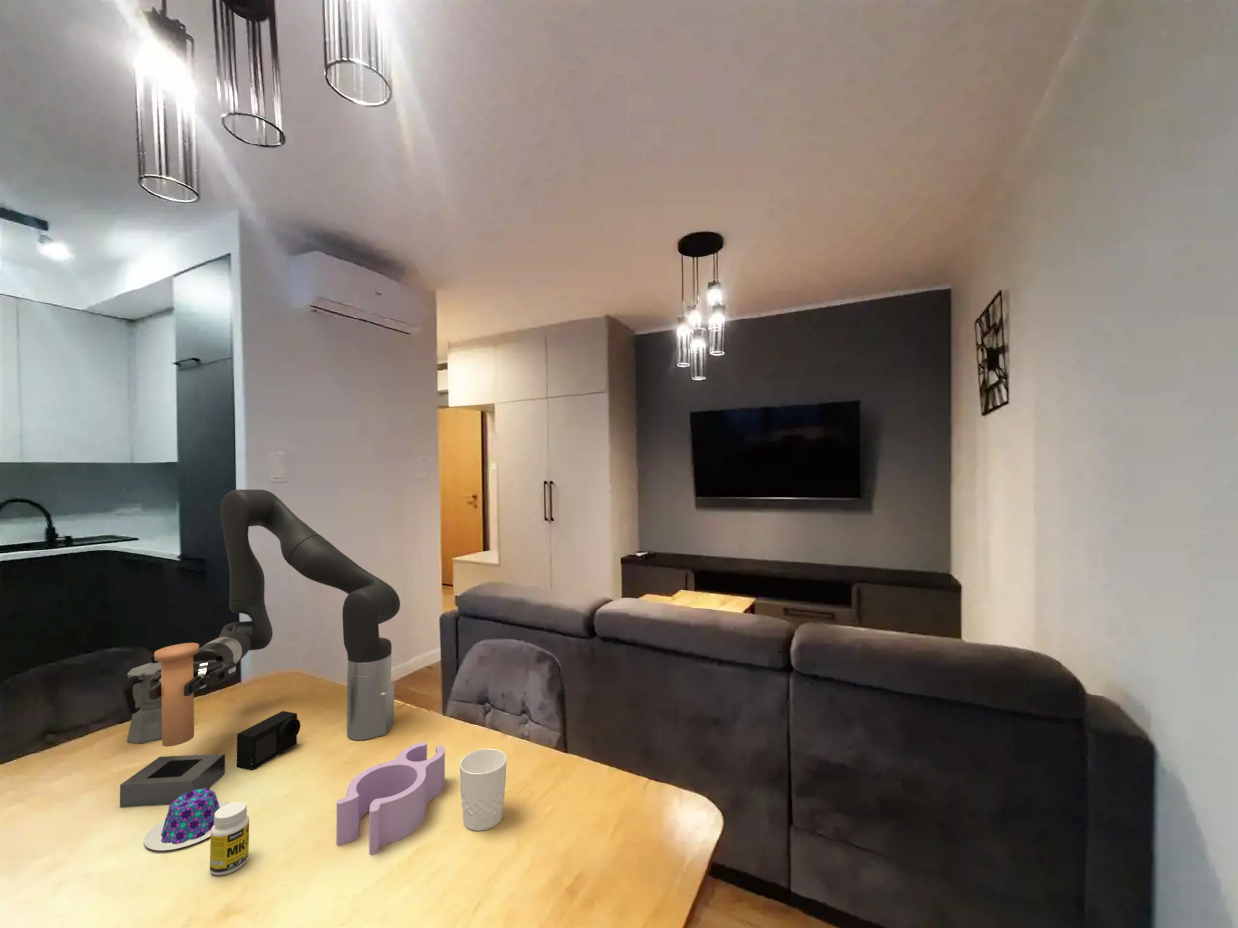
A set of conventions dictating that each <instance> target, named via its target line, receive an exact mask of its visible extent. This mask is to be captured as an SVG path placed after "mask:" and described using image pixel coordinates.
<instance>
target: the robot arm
mask: <svg viewBox="0 0 1238 928" xmlns="http://www.w3.org/2000/svg"><path fill="white" fill-rule="evenodd" d="M220 519H221V521H220V522H221V527H222V533H223V539H224V544H225V549H226V555H227V562H228V568H229V603H228V604H229V609H230V610H229V611H231V612H232V613H236V614H243V615H246V616H248V617H249V618H250V619H251V620H246V621H236V622H235V621H233V622H231V623H227V624H226V625H225V626H223V628H222V629H221V630H220V631H221V632H220V634H219V636H218V637H217V638H215V639H213V640H211V641H209V642H207V643H205V644H204V645H202V646H200V647H199V652H198V653H197V654H195V655H193V679H192V680H190V681H189V682H188V683H186V684H185V685H184V696H190V695H191V694H192V693H196V692H197V691H199V690H200V689H204V688H206V686H207V685H209V686H210V687H215V686H217V685H219V684H222V682H225V681H227V680H229V679H230V678H233V677H234V676H236V673H237V672H236V671H237V669H236V668H237V663H238V662H240V660H242V658H244V657H245V656H246V655H247V654H248V652H249V651H258V650H263V649H265V648H266V647H267V646H269V644H270V643H271V641H272V639H273V634H274V633H273V627H272V623H271V620H270V617H269V615H268V610H267V607H266V603H265V585H266V583H265V581H266V580H265V574H264V570H263V567H262V565H261V563H260V562H259V561H258V559H257V557H256V555H255V554H254V551H253V550H252V547H251V545H250V540H249V527H263V528H264V529H266V530H268V532H270V533H272V534H273V535H274V536H275V537H276V538H277V539H278V540H279V544H280V550H281V554H282V557H283V559H284V560H285V562H286V563H287V564H288V565H289V566H290V567H291V568H293V569H294V570H296V571H297V572H298V573H299V574H300V575H302V577H305V578H307V579H308V580H309V581H310V580H311V581H313V582H315V583H319V584H321V585H325V586H327V587H331V588H335V589H338V590H340V591H342V592H344V593H346V594H347V596H346V597H345V599H344V602H343V605H342V613H341V614H342V616H341V617H342V633H343V634H342V636H343V644H344V647H345V650H346V653H347V654H346V655H347V666H346V667H347V668H346V669H347V672H346V673H347V675H346V677H347V679H346V684H347V685H346V735H347V737H348V738H349V739H351V740H355V741H364V740H370V739H374V738H377V737H381V736H386V735H387V733H388V732H389V731H390V729H391V728H392V726H393V725H394V723H395V683H394V682H392V649H393V648H392V642H391V640H390V639H388V638H386V637H380V630H379V629H380V628H379V625H380V624H383V623H385V622H387V621H390V620H392V618H394V617H396V615H397V614H398V613H399V611H400V609H401V600H400V597H399V595H398V593H397V591H396V590H395V588H394V587H392V586H391V585H390V584H389V583H387V582H386V581H384V580H382V579H381V578H379V577H377V576H375V575H374V574H372V573H371V572H369V571H367V570H366V569H364V568H362V567H361V566H360V565H359V564H357V563H356V562H355V561H354V560H352V559H351V558H350V557H348V556H347V555H346V554H344V553H343V552H342V551H340V550H339V549H338V548H337V547H336V546H335V545H333V543H331V542H329V541H328V540H327V538H325V537H324V536H322V535H321V534H319V533H318V532H316V531H315V530H314V529H313V528H312V527H310V526H309V525H308V524H306V523H305V521H303V520H301V519H300V518H299V517H298V516H297V515H296V514H295V513H294V512H292V510H291V509H290V508H288V506H287V505H286V504H285V503H284V502H283V501H282V500H281V499H280V498H279V497H278V496H276V494H274V492H271V491H269V490H265V489H232V490H230V491H229V492H227V493H226V494H225V495H224V496H223V498H222V499H221V504H220ZM160 696H161V669H160V670H157V671H156V672H155V673H154V675H153V676H152V677H151V679H150V689H149V698H150V700H156V699H157V698H159V697H160Z"/></svg>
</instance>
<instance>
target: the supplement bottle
mask: <svg viewBox="0 0 1238 928" xmlns="http://www.w3.org/2000/svg"><path fill="white" fill-rule="evenodd" d="M247 806H248V805H247V803H246V802H244V801H233V802H229V804H227V805H225V806H223V807H221V808H219V809H218V810H217V811H216V812H215V815H214V826H213V827H212V829H211V830H210V832H211V836H210V844H209V845H210V848H209V852H210V853H209V872H210V873H211V874H212V875H214V876H224V875H228V874H231V873H233V872H236V871H237V870H239V869H240V868H241V867H242V866H243V865H244V864H246V862H247V861H248V860H249V849H250V848H249V846H250V817H249V815H247V813H248V811H247V810H248V809H247Z"/></svg>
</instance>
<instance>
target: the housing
mask: <svg viewBox="0 0 1238 928" xmlns="http://www.w3.org/2000/svg"><path fill="white" fill-rule="evenodd" d="M225 774H226V753H212V754H211V753H210V754H209V753H208V754H191V755H172V756H171V755H170V756H158V757H157V758H156V759H154V760H153V761H152V762H151V763H149V764H147V765H146V766H144V767H143V768H141V770H138V772H136V773H135V774H133V775H132V776H131V777H129V778H128V779H127V780H125V781H123V782H121V784H120V785H119V808H130V807H131V808H132V807H150V806H151V807H152V806H166V805H169V806H170V805H171V803H172V802H173V801H174V800H176V799H177V798H178V797H179V796H181V795H183V794H185V793H189V792H190V791H192V790H196V789H204V788H207V789H210V788H211V787H213V785H214V784H215V783H216V782H218V781H219V780H220V779H221V778H222V777H223V776H224V775H225Z"/></svg>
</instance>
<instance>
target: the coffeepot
mask: <svg viewBox="0 0 1238 928" xmlns="http://www.w3.org/2000/svg"><path fill="white" fill-rule="evenodd" d="M150 661H151V662H149V663H145V664H142V665H139V666H137V667H133V668H131V669H130V670H129V671H128V672H127V673H126V674H127V675H126V676H127V680H126V681H125V684H124V685H123V688H122V695H123V697H124V699H125V704H126V706H127V708H128V711H129V714H130V715H132V716H131V720H130V724H129V730H128V734H127V739H126V741H127V742H129V743H130V744H135V745H136V744H146V743H152V742H155V741H160V740H162V696H160V697H159V698H157V699H156V700H150V698H149V689H150V679H151V677H152V676H153V675H154V673H155V672H156V671H157V670H160V669H161V661H155V660H154V654H152V655H150Z"/></svg>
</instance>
